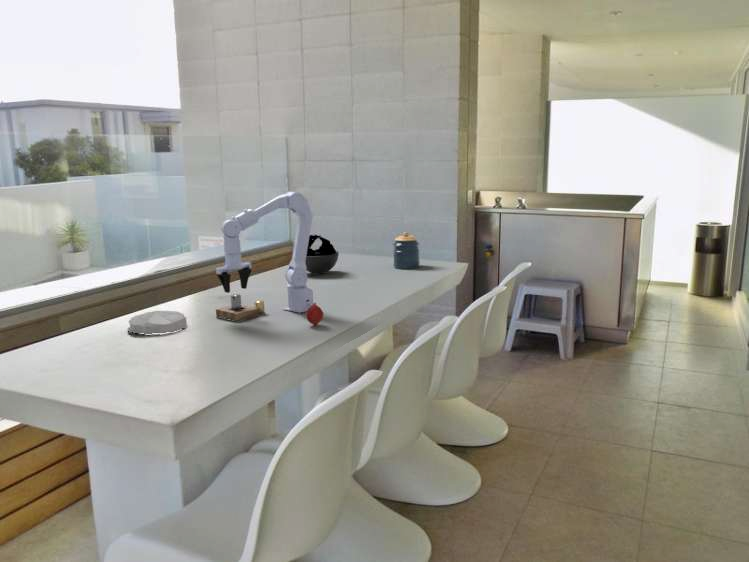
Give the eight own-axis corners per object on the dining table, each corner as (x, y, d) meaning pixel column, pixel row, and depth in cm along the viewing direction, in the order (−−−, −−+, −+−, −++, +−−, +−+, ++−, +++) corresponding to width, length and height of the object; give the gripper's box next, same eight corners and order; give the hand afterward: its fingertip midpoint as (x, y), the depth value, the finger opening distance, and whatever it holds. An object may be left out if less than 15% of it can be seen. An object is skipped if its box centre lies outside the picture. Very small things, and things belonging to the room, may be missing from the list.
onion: (308, 328, 222) (306, 305, 221) (305, 324, 228) (304, 301, 226) (325, 326, 224) (323, 303, 222) (321, 322, 229) (320, 300, 228)
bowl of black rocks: (301, 270, 330) (299, 233, 326) (341, 269, 329) (339, 231, 325) (295, 278, 310) (292, 238, 306) (337, 277, 309) (335, 237, 305)
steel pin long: (244, 316, 242) (242, 295, 240) (235, 318, 239) (234, 296, 238) (238, 314, 244) (236, 293, 243) (230, 316, 242) (228, 295, 240)
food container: (184, 319, 242) (182, 301, 241) (190, 331, 224) (188, 312, 223) (126, 327, 235) (124, 308, 234) (128, 340, 217) (126, 320, 216)
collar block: (258, 315, 242) (258, 307, 241) (237, 322, 234) (236, 313, 233) (238, 311, 249) (237, 303, 248) (216, 317, 242) (215, 309, 241)
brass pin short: (266, 312, 246) (265, 301, 245) (259, 314, 243) (258, 303, 242) (260, 311, 248) (259, 300, 247) (253, 313, 245) (252, 301, 245)
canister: (390, 266, 333) (389, 231, 329) (414, 263, 336) (413, 229, 333) (398, 270, 321) (397, 234, 317) (423, 268, 324) (422, 232, 321)
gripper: (241, 249, 245) (244, 285, 248) (209, 255, 234) (212, 292, 237) (253, 251, 240) (256, 287, 243) (221, 257, 230) (224, 295, 232)
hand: (235, 290), depth 240 cm, fingers open, 7 cm apart
